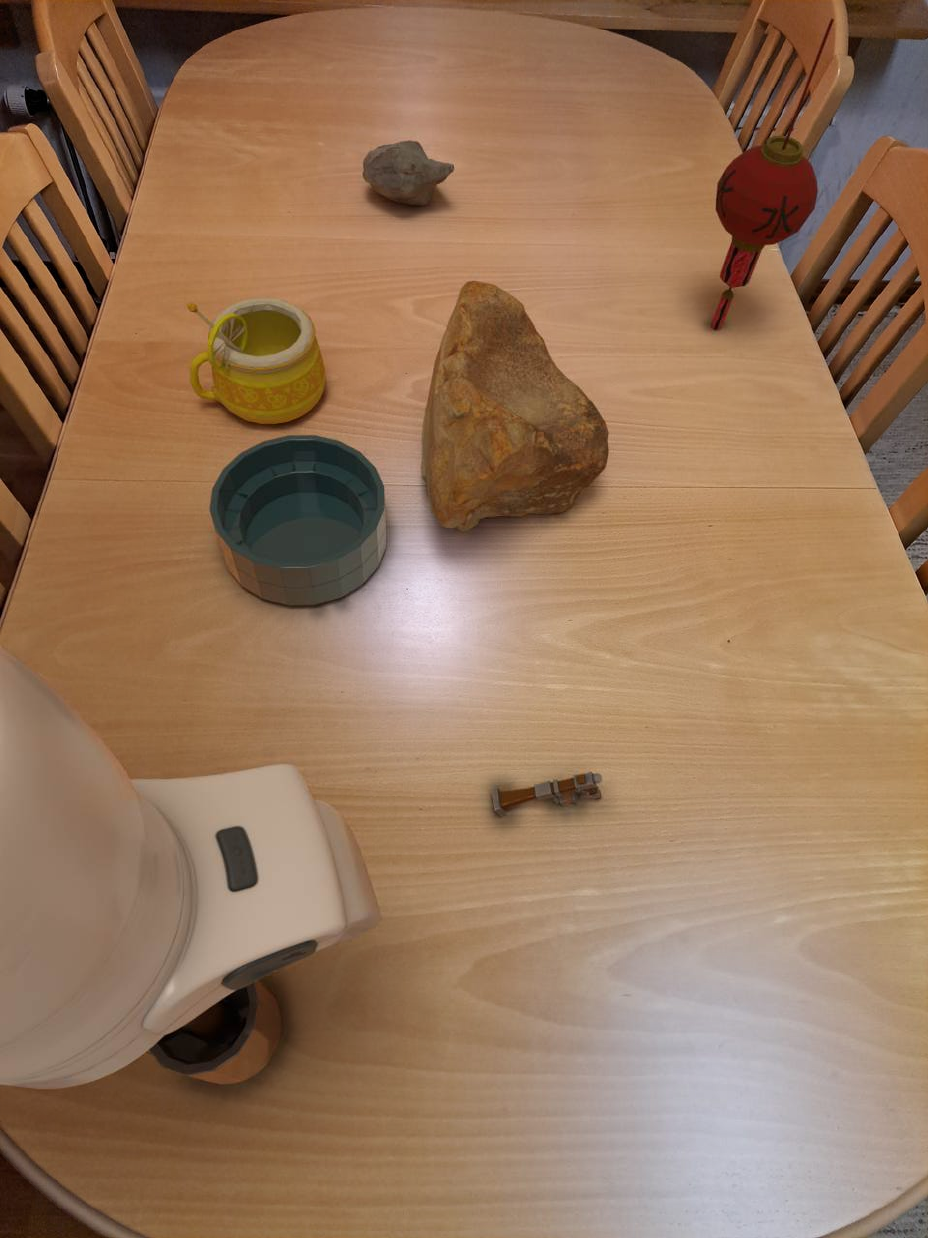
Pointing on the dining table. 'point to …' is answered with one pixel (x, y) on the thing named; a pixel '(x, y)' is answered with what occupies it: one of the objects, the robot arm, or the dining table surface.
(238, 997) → the holder
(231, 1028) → the stick
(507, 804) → the wooden lamp post
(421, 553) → the dining table surface
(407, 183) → the fossil
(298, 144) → the dining table surface
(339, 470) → the bowl
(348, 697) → the dining table surface
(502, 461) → the orange rock
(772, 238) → the lantern
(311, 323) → the mug
